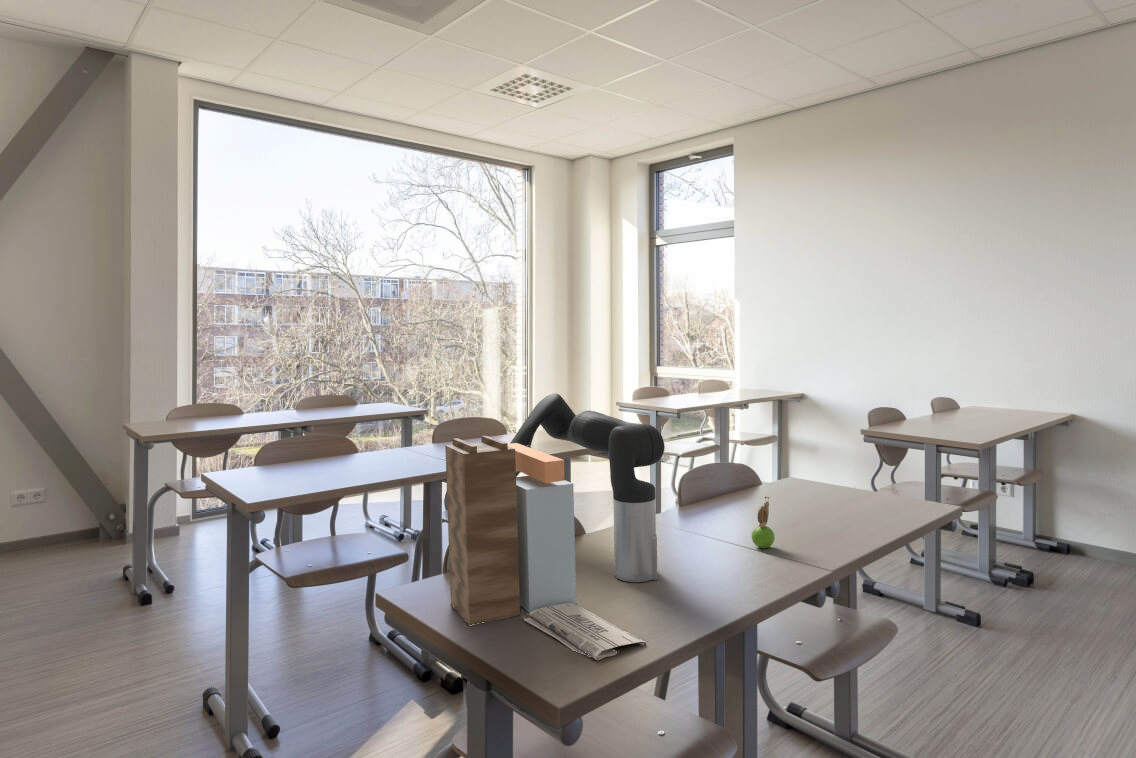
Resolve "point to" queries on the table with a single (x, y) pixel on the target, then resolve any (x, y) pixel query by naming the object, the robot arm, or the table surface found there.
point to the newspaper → (581, 630)
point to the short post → (545, 543)
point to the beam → (538, 464)
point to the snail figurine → (763, 528)
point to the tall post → (482, 529)
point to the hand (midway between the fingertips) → (518, 450)
